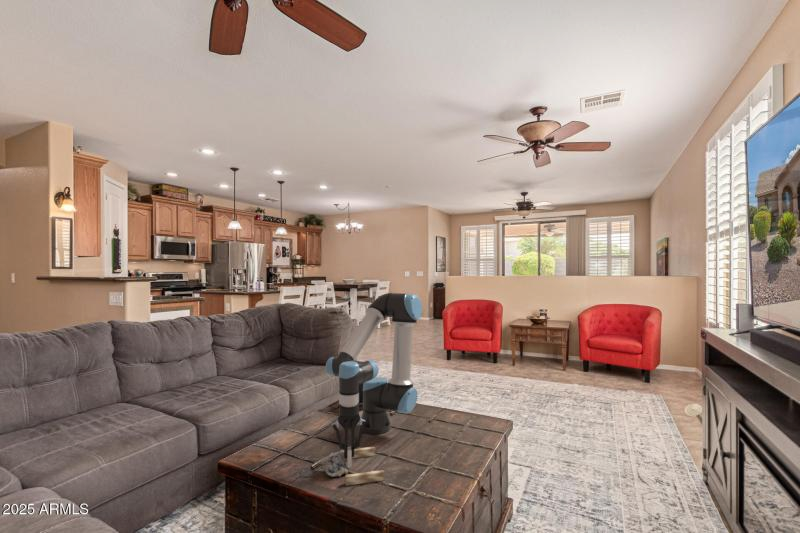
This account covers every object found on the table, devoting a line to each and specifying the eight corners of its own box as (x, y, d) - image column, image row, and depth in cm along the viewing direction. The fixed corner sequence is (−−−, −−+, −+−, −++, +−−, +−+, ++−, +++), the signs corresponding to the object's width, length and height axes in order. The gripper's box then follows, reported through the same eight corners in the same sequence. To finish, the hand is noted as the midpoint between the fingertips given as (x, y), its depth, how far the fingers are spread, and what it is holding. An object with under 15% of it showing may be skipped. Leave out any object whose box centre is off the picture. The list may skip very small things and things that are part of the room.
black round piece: (372, 403, 215) (372, 376, 215) (368, 412, 202) (368, 384, 202) (349, 402, 216) (349, 376, 216) (343, 411, 203) (343, 383, 203)
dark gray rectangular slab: (314, 470, 145) (314, 469, 145) (314, 476, 141) (314, 475, 141) (300, 472, 144) (300, 471, 144) (300, 477, 140) (300, 477, 140)
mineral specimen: (333, 490, 140) (341, 469, 150) (347, 479, 138) (355, 458, 147) (314, 473, 140) (323, 452, 149) (327, 462, 137) (336, 442, 146)
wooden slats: (374, 453, 158) (374, 446, 158) (384, 480, 138) (384, 471, 138) (340, 458, 154) (340, 450, 154) (345, 485, 135) (345, 477, 135)
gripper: (364, 398, 150) (364, 458, 150) (330, 401, 147) (331, 463, 147) (367, 405, 143) (367, 468, 143) (332, 408, 140) (332, 473, 140)
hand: (349, 465), depth 145 cm, fingers closed
